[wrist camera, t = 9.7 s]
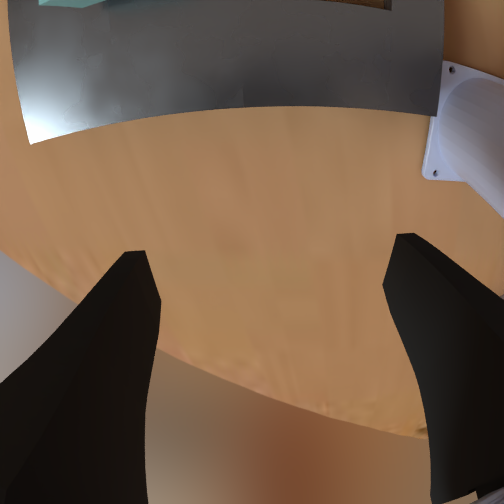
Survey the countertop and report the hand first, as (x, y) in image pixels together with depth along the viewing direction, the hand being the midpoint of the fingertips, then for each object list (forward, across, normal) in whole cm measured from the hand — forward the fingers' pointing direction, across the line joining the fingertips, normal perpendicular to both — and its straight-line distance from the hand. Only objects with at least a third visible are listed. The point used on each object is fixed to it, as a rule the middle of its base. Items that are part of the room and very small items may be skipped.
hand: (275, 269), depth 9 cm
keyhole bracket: (+10, +1, -11) cm, 15 cm away
